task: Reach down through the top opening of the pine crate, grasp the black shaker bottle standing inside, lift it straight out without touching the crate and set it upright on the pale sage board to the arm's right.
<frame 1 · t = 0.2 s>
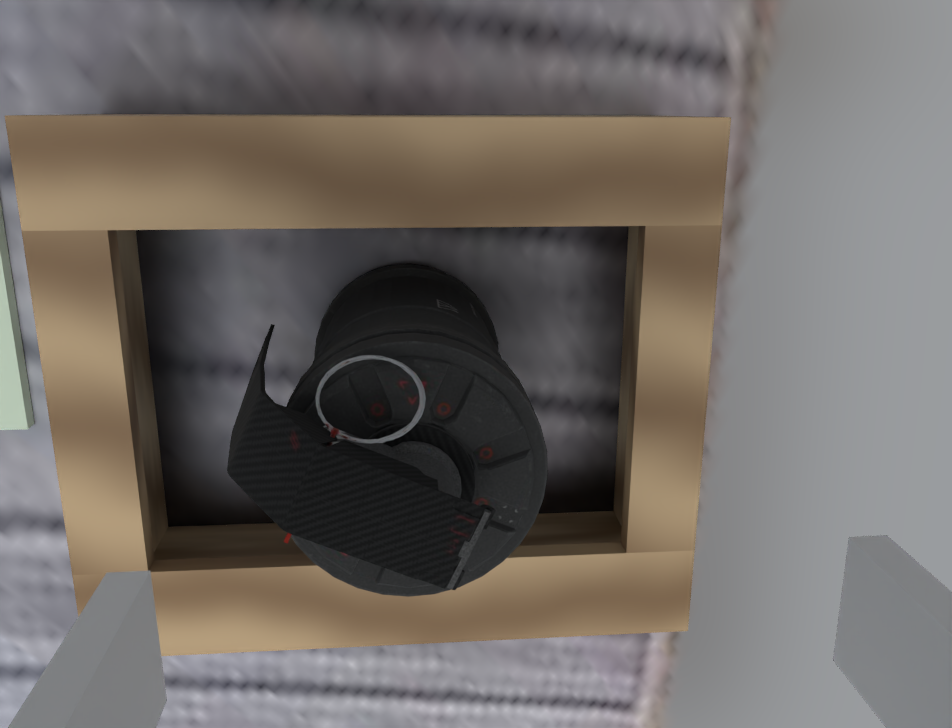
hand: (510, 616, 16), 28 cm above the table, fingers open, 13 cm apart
crate: (390, 340, 44), on the table
black shaker bottle: (390, 339, 44), resting in crate
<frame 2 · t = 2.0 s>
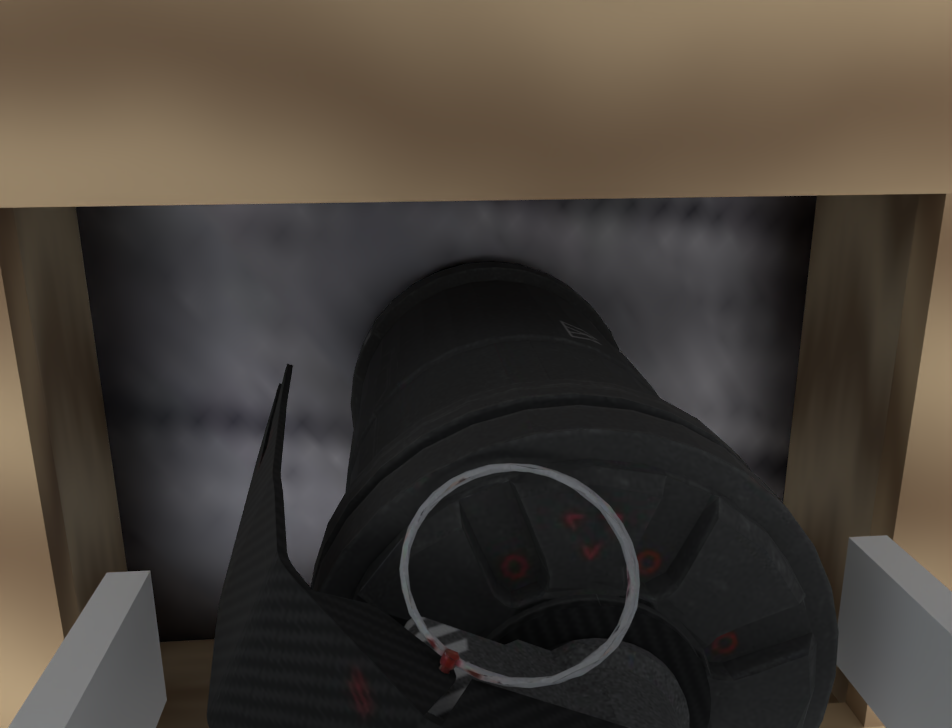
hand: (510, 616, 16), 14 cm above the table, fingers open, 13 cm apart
crate: (460, 373, 29), on the table
black shaker bottle: (460, 371, 30), resting in crate
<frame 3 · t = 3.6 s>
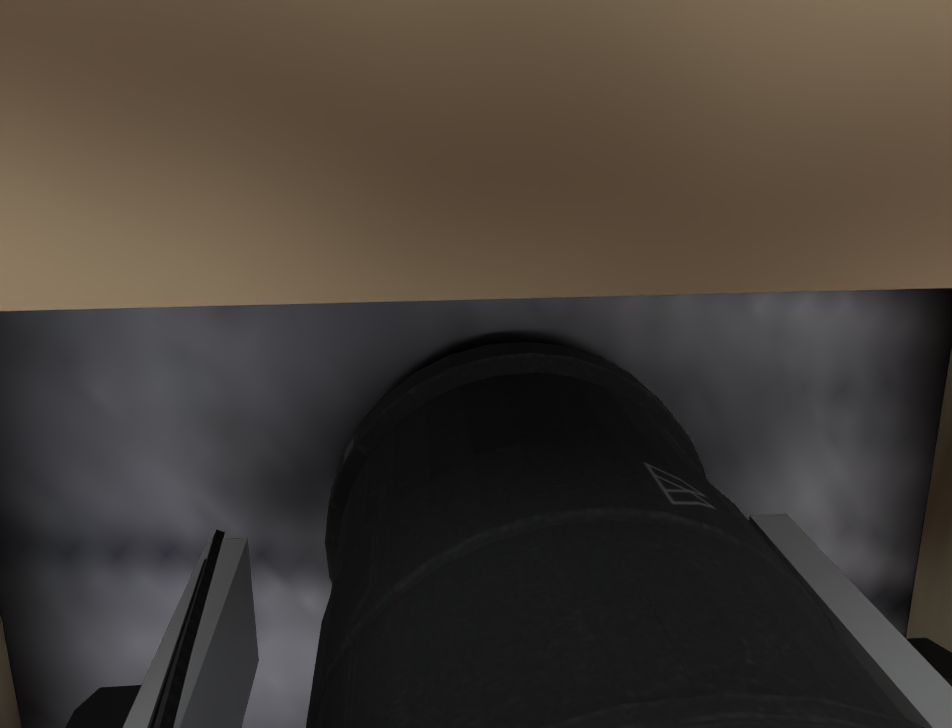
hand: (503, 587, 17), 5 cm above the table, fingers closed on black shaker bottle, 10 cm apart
crate: (478, 487, 22), on the table
black shaker bottle: (477, 483, 22), resting in crate, touching gripper
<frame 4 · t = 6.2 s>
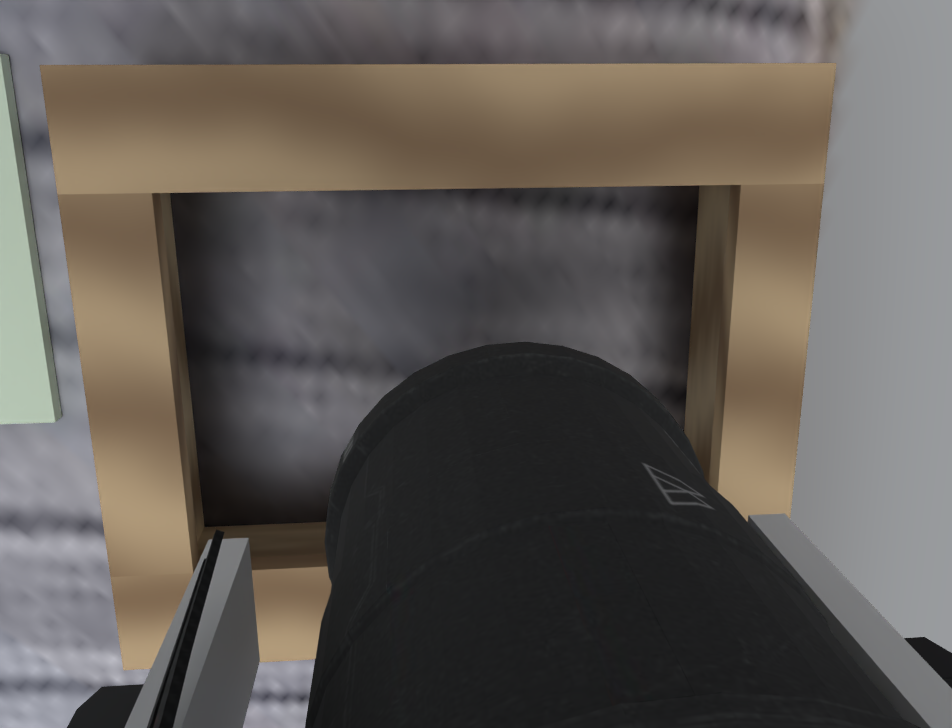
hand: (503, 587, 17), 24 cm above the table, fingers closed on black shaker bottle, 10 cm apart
crate: (443, 323, 41), on the table
black shaker bottle: (476, 483, 22), point 19 cm above the table, touching gripper
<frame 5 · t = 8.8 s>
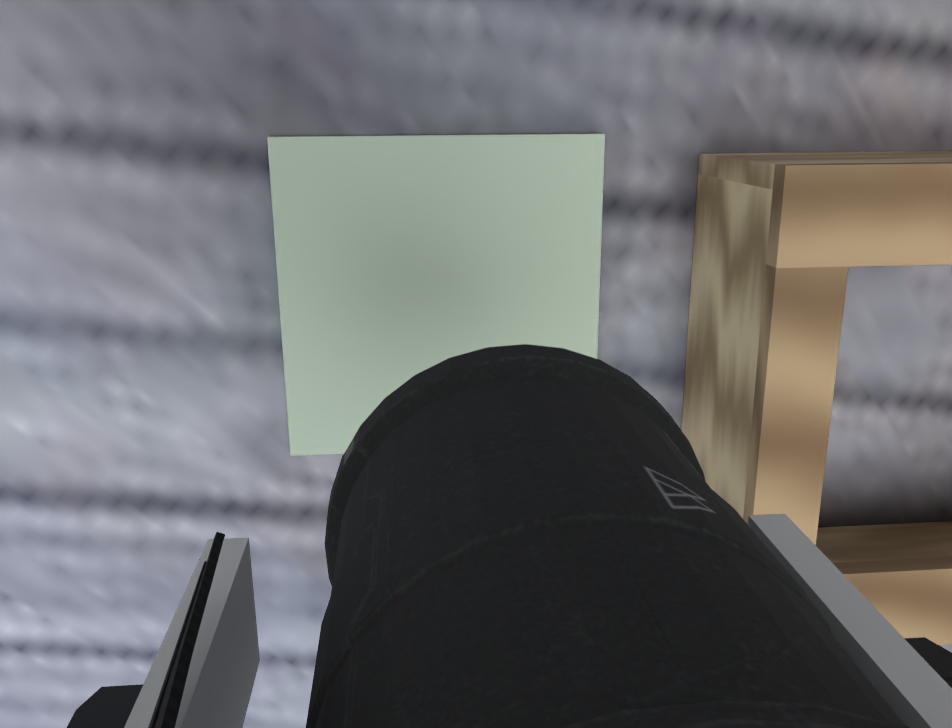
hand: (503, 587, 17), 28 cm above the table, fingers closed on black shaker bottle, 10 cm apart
crate: (918, 358, 47), on the table
black shaker bottle: (476, 485, 22), point 23 cm above the table, touching gripper
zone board: (440, 297, 44), on the table
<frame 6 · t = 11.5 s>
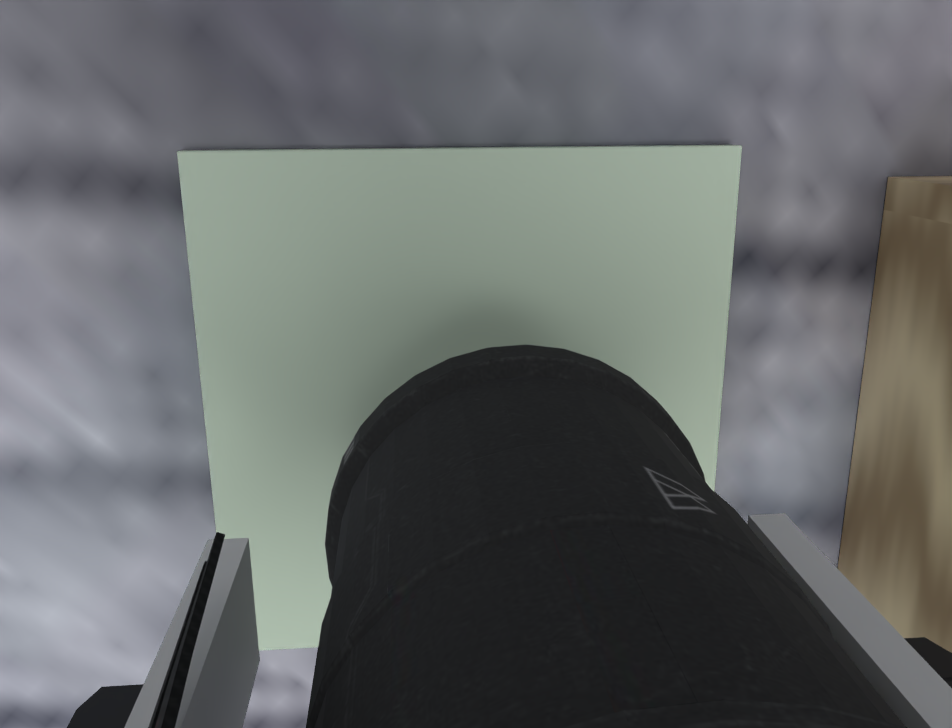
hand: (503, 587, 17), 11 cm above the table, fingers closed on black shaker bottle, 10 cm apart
black shaker bottle: (477, 486, 22), point 6 cm above the table, touching gripper
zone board: (467, 406, 27), on the table
when the fingers open (7 cm above the table, at t = 13.5 s): black shaker bottle stays where it is, resting on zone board.
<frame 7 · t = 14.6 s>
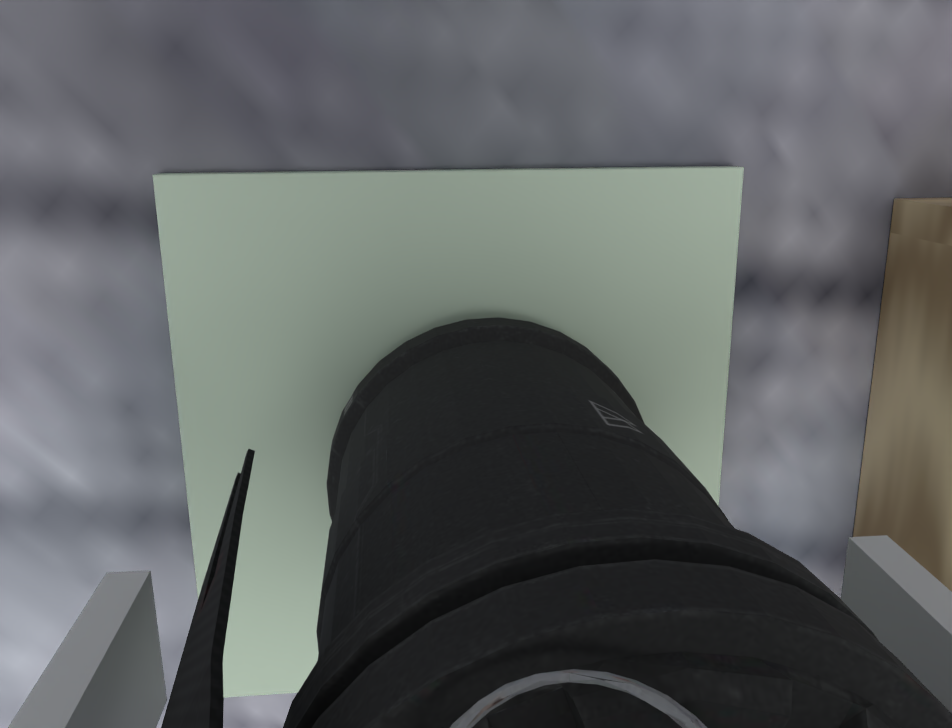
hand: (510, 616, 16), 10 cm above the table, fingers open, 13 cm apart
black shaker bottle: (455, 442, 25), point 1 cm above the table, touching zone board
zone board: (458, 438, 26), on the table
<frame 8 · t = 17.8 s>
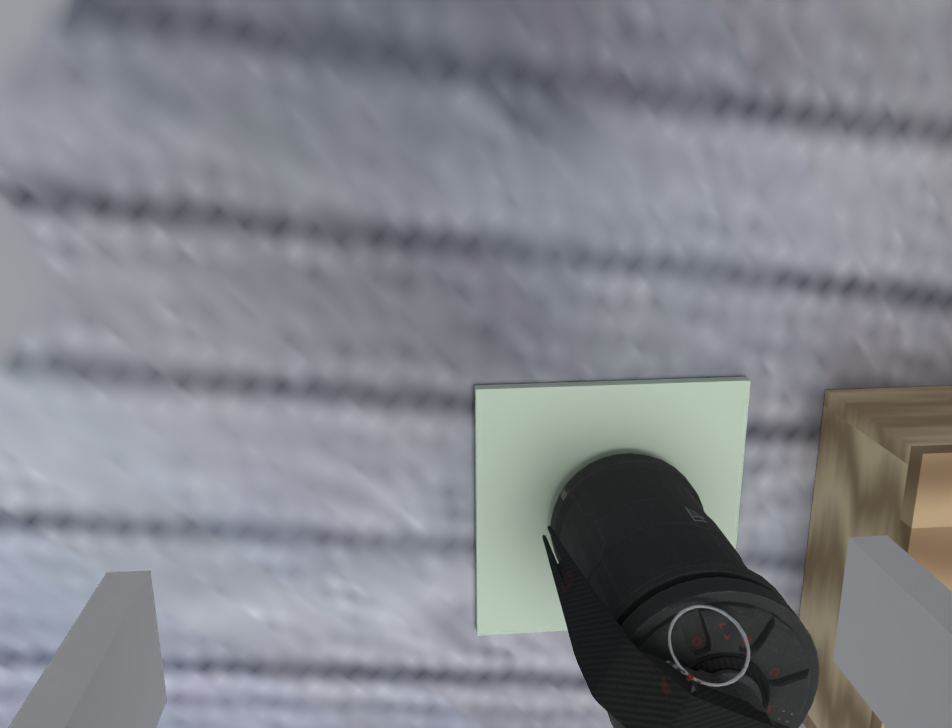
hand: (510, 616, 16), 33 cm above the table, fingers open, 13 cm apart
black shaker bottle: (606, 508, 52), point 1 cm above the table, touching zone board
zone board: (606, 506, 52), on the table
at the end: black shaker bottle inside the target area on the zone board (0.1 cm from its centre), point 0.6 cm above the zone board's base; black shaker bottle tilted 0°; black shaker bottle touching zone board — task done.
